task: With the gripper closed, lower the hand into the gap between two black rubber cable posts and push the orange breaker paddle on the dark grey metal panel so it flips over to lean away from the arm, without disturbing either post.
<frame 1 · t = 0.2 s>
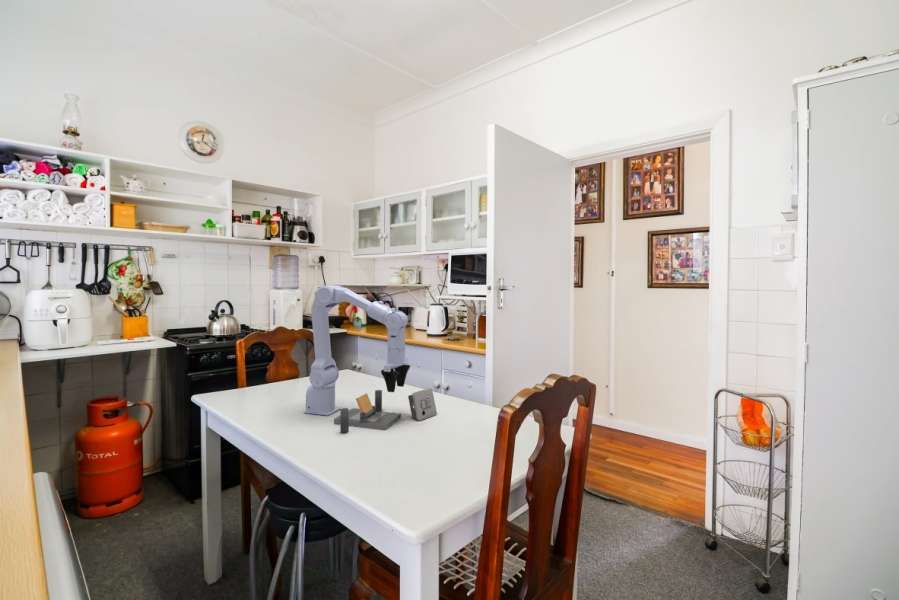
hand: (395, 389, 144), 10 cm above the table, fingers open, 7 cm apart
electrical switch: (422, 417, 147), on the table
breaker paddle: (365, 405, 142), point 5 cm above the table, hinge at -25.0°
cable post a: (344, 432, 131), on the table
cable post b: (378, 410, 153), on the table
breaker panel: (368, 420, 142), on the table
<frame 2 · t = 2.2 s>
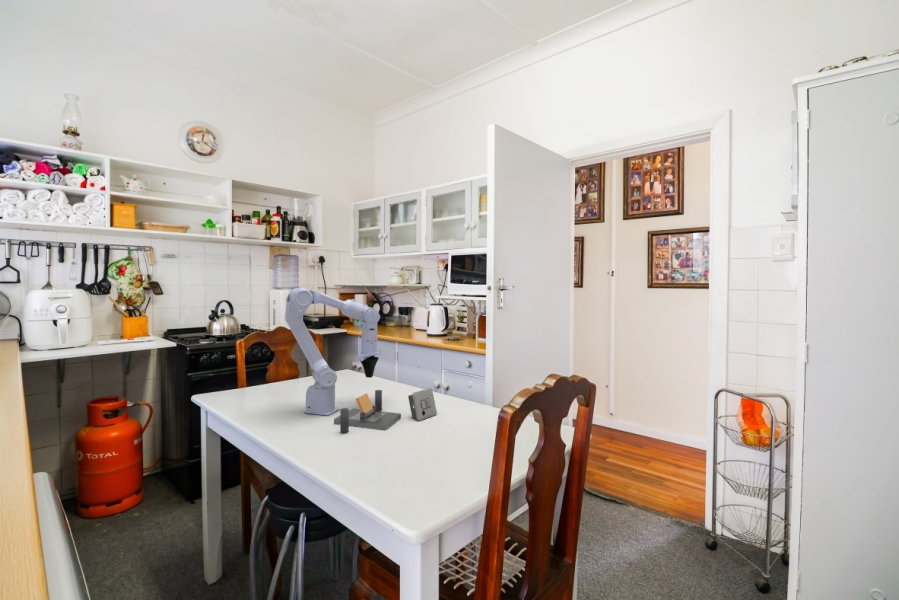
hand: (369, 377, 159), 10 cm above the table, fingers closed
nothing on the table moved.
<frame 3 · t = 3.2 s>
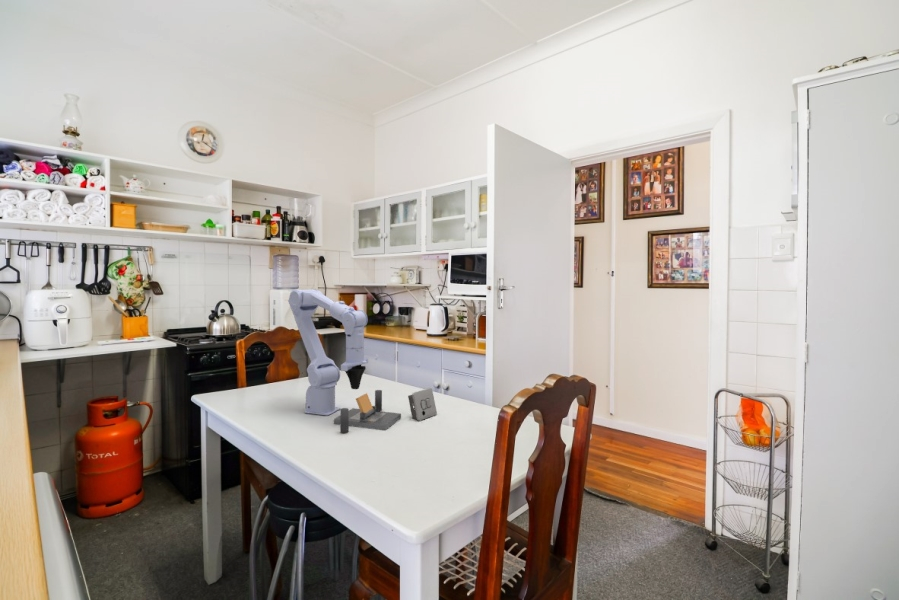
hand: (355, 388, 142), 10 cm above the table, fingers closed
nothing on the table moved.
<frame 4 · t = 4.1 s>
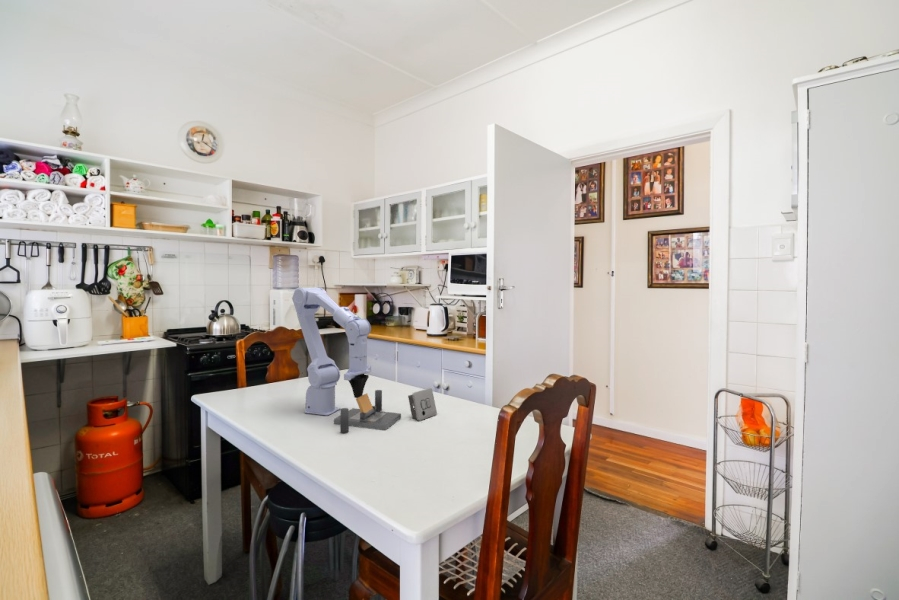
hand: (358, 397, 142), 7 cm above the table, fingers closed, pressing on breaker paddle
breaker paddle: (365, 405, 142), point 5 cm above the table, hinge at -24.5°, touching gripper
everything else where it was.
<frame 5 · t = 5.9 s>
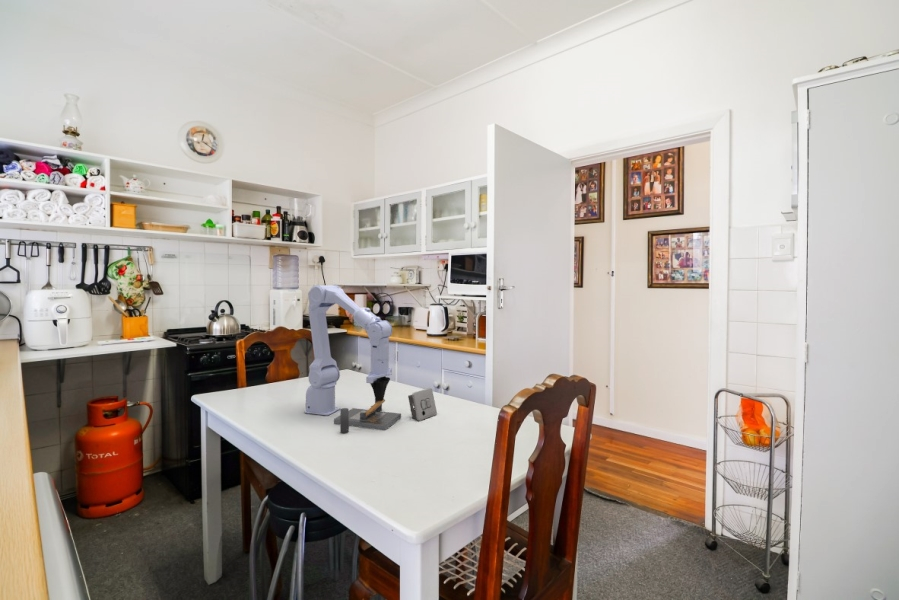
hand: (379, 400, 140), 7 cm above the table, fingers closed
breaker paddle: (373, 408, 141), point 4 cm above the table, hinge at 46.4°
everything else where it was.
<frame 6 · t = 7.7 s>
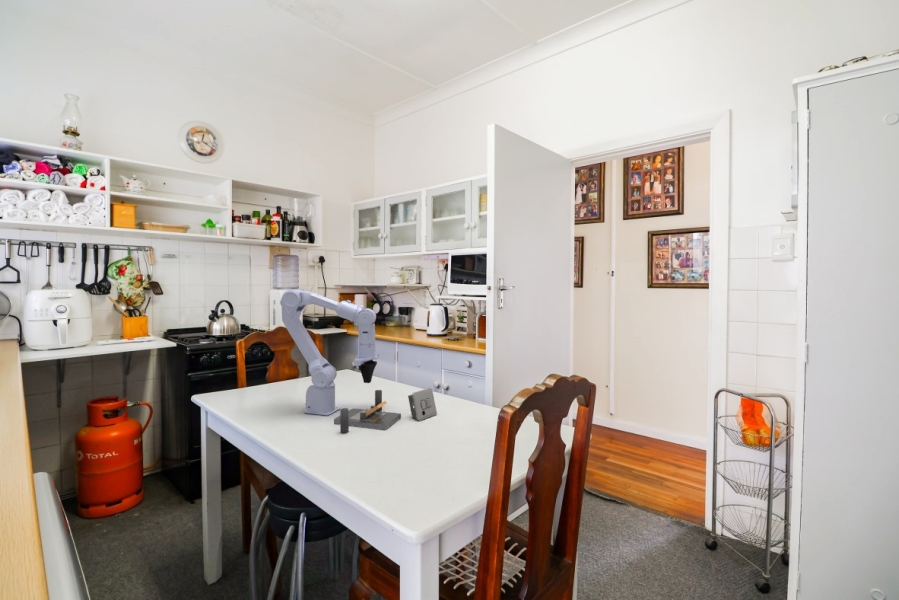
hand: (367, 382, 150), 10 cm above the table, fingers closed
breaker paddle: (374, 409, 141), point 4 cm above the table, hinge at 55.4°
everything else where it was.
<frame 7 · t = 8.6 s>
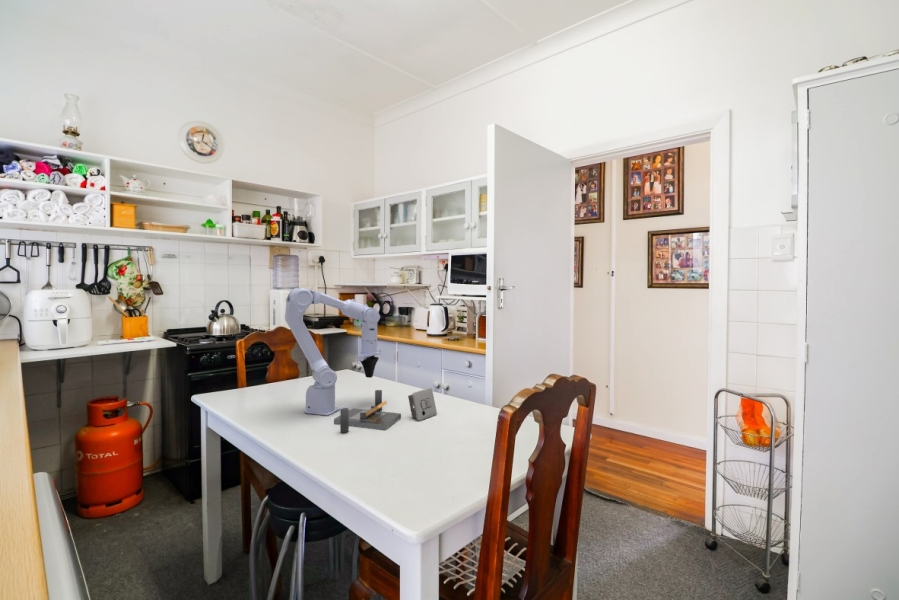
hand: (369, 377, 159), 10 cm above the table, fingers closed
breaker paddle: (374, 409, 141), point 4 cm above the table, hinge at 56.2°
everything else where it was.
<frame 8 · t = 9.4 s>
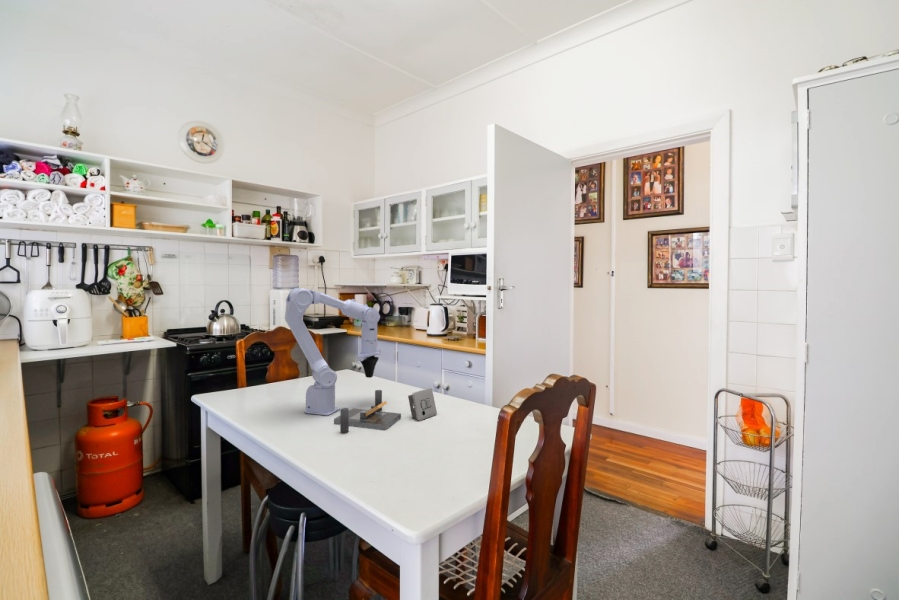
hand: (369, 377, 159), 10 cm above the table, fingers closed
nothing on the table moved.
at the end: breaker paddle at +56° (first picture: -25°); cable post b moved 0.0 cm from its start; cable post a moved 0.0 cm from its start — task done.
